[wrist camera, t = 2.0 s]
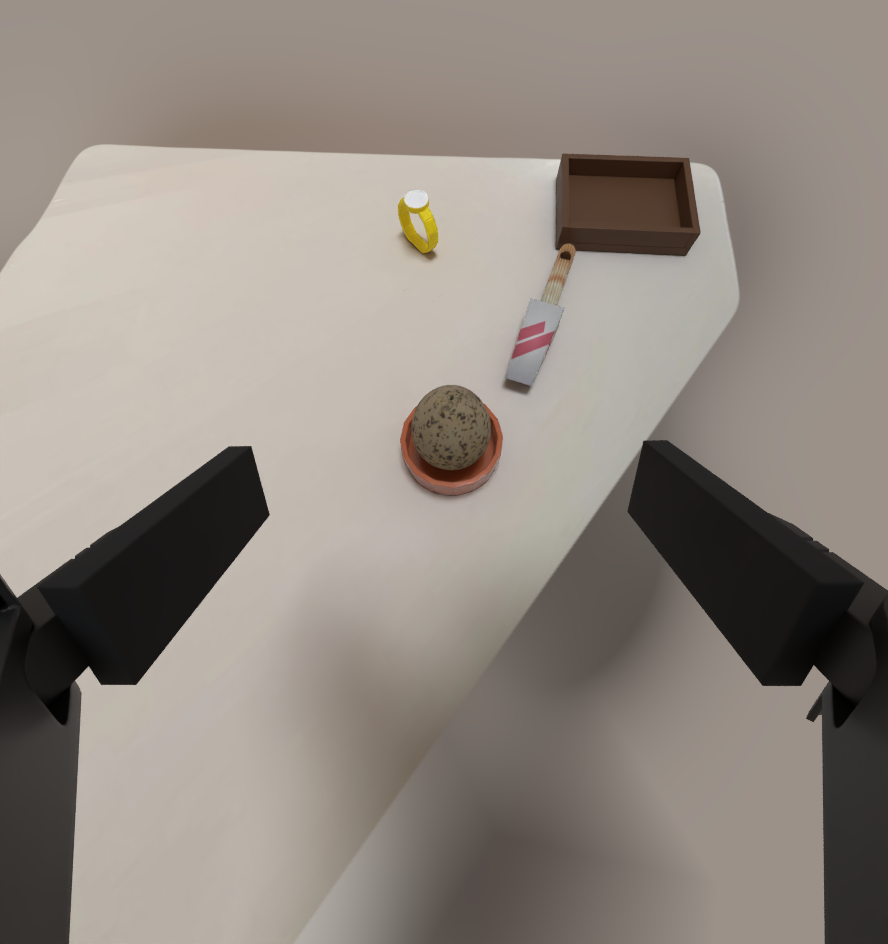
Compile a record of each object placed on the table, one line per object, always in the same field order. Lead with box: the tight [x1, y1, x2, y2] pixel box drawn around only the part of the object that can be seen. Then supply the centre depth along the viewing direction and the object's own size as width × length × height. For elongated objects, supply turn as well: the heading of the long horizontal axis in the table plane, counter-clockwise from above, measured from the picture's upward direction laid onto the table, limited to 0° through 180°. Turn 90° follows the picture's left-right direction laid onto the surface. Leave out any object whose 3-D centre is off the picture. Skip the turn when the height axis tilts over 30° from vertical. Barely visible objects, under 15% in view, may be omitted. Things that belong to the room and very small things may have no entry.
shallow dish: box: [400, 404, 503, 495], centre depth 37 cm, size 10×10×3 cm
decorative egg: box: [411, 385, 491, 470], centre depth 33 cm, size 7×7×10 cm
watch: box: [398, 190, 438, 253], centre depth 45 cm, size 6×3×6 cm, turn 40°
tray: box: [556, 154, 700, 256], centre depth 47 cm, size 16×13×3 cm
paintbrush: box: [506, 243, 576, 386], centre depth 42 cm, size 4×3×20 cm
